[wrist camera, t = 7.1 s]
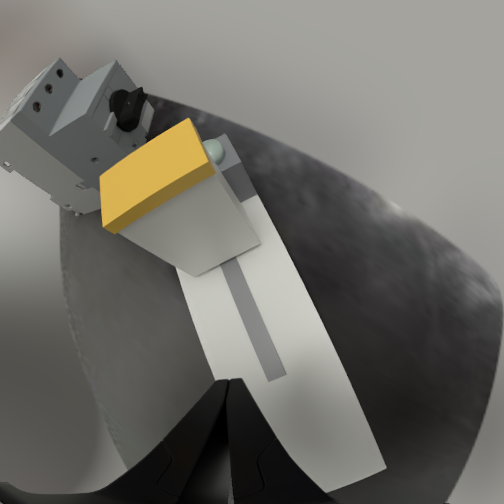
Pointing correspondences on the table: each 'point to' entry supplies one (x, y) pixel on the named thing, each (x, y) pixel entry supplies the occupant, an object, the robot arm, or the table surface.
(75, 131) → the circuit breaker
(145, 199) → the handle
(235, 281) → the long white slab
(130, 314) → the table surface
